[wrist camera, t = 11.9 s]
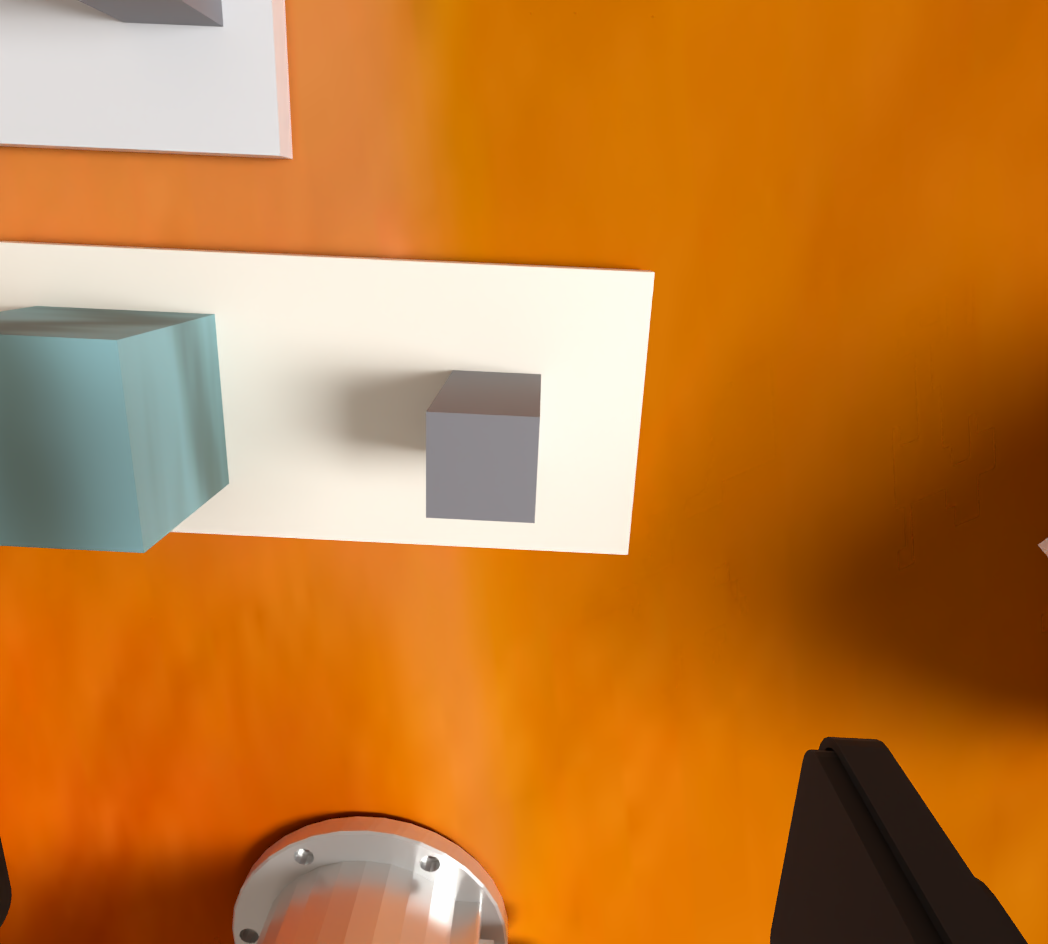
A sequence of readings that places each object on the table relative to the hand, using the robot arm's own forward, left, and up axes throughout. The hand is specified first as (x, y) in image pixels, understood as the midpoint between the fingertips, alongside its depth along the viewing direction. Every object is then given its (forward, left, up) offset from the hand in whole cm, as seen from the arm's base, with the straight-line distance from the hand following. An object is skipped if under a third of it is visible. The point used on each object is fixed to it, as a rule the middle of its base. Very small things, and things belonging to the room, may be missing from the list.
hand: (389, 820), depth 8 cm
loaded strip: (+6, 0, -20) cm, 20 cm away
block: (+12, 0, -18) cm, 22 cm away
